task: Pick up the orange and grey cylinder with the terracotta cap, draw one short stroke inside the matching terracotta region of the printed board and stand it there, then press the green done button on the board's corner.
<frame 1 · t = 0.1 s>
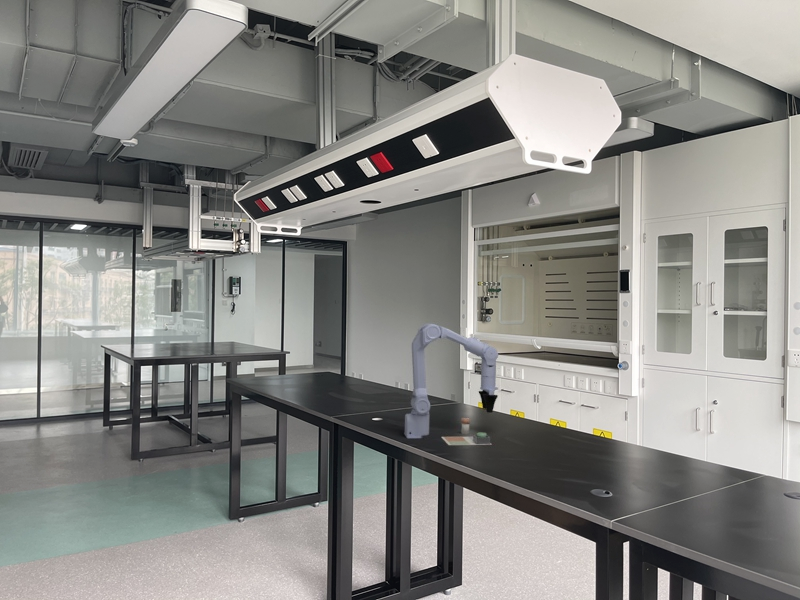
hand: (487, 410, 228), 10 cm above the table, fingers open, 7 cm apart
orange and grey cylinder: (465, 436, 225), on the table
board: (465, 443, 213), on the table
done button: (481, 435, 210), point 4 cm above the table, slide at 0.0 cm
button housing: (481, 442, 210), resting on board
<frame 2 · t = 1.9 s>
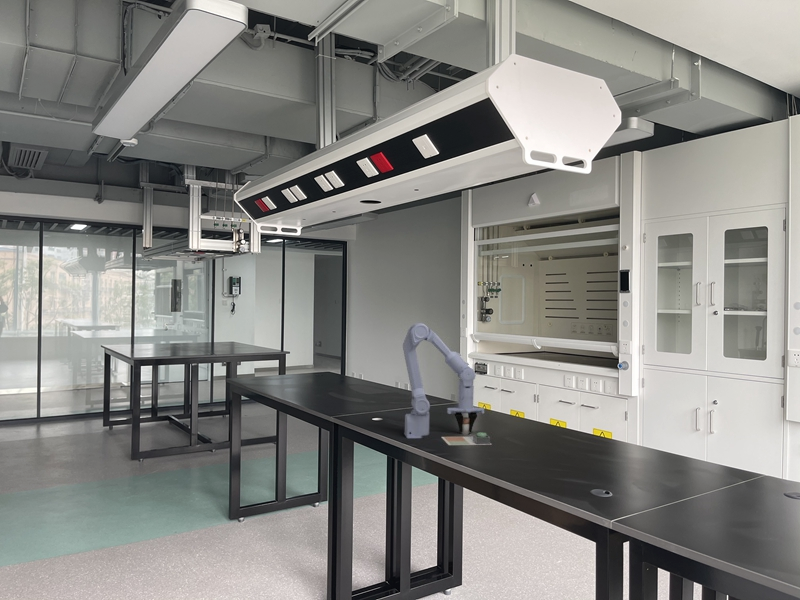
hand: (465, 431, 225), 2 cm above the table, fingers closed on orange and grey cylinder, 3 cm apart
orange and grey cylinder: (465, 436, 225), on the table, touching gripper
everything else where it was.
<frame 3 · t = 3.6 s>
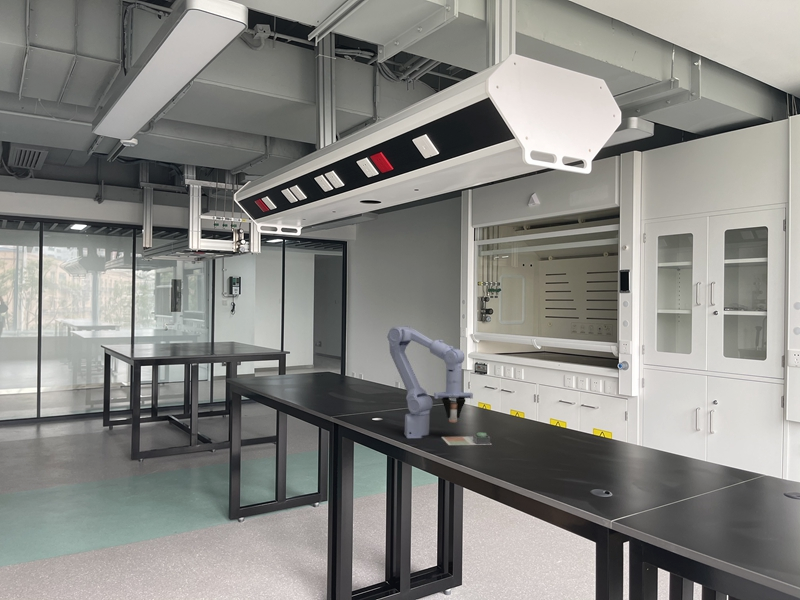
hand: (453, 417, 216), 9 cm above the table, fingers closed on orange and grey cylinder, 3 cm apart
orange and grey cylinder: (453, 421, 216), point 7 cm above the table, touching gripper
everything else where it was.
when the fingers open (3 cm above the table, at t = 5.5 s): orange and grey cylinder stays where it is, resting on board.
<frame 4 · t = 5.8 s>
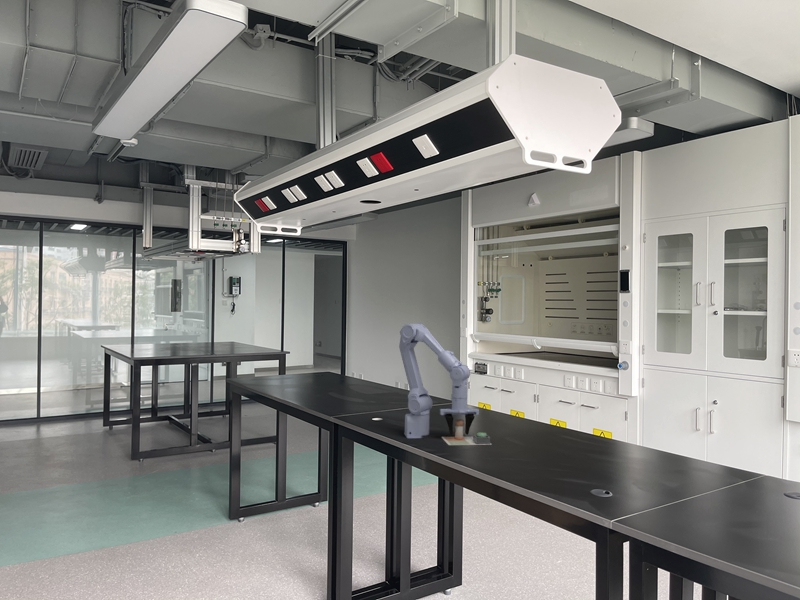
hand: (458, 434, 215), 3 cm above the table, fingers open, 5 cm apart
orange and grey cylinder: (458, 438, 215), point 1 cm above the table, touching board
everything else where it was.
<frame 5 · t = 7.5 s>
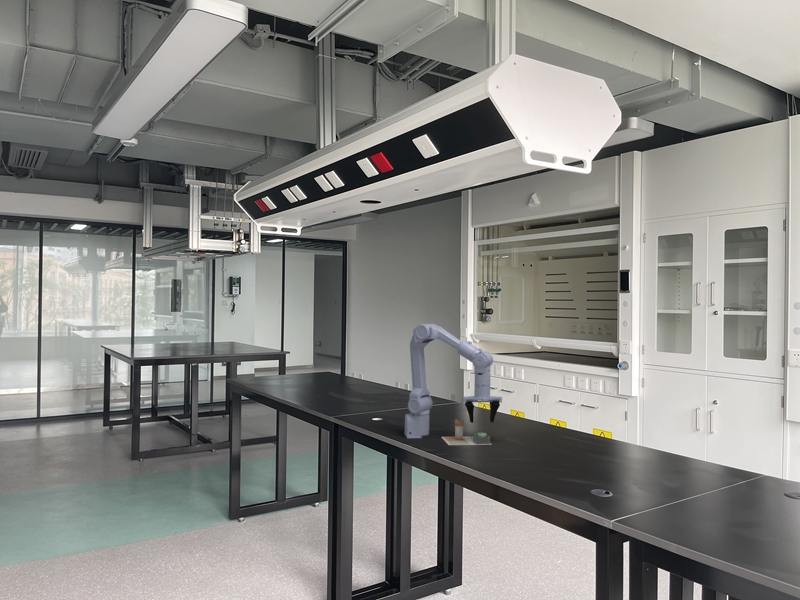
hand: (481, 422, 210), 8 cm above the table, fingers open, 7 cm apart
nothing on the table moved.
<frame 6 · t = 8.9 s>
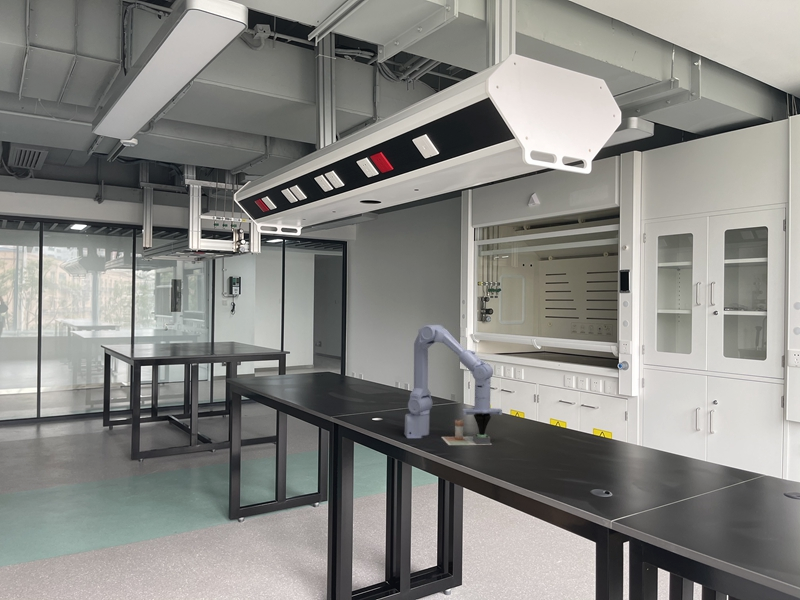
hand: (481, 434, 210), 4 cm above the table, fingers closed, pressing on done button
done button: (481, 436, 210), point 3 cm above the table, slide at 0.4 cm, touching gripper
everything else where it was.
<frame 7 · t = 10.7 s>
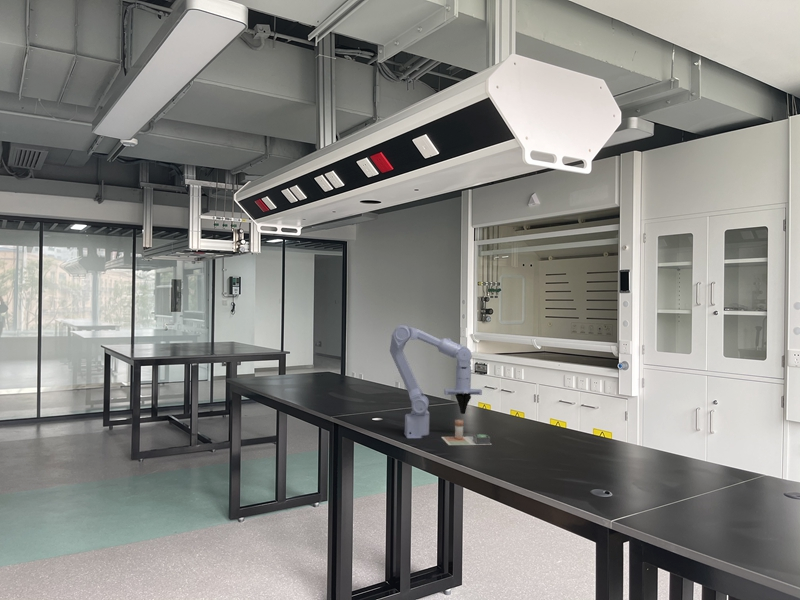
hand: (462, 413, 222), 9 cm above the table, fingers closed
done button: (481, 437, 210), point 3 cm above the table, slide at 0.7 cm
everything else where it was.
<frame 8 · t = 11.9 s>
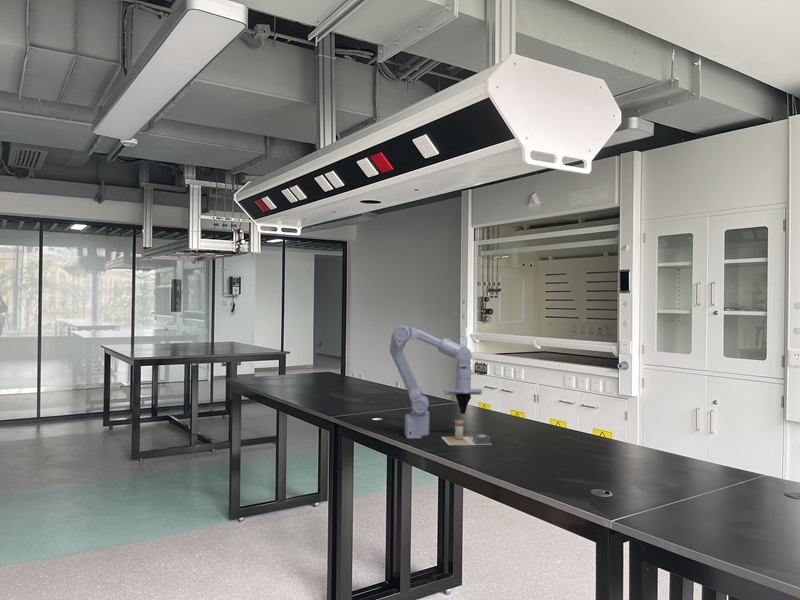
hand: (462, 413, 222), 9 cm above the table, fingers closed
nothing on the table moved.
at the end: orange and grey cylinder 1.5 cm from the target spot on the board, point 1.1 cm above the board's base; orange and grey cylinder tilted 0°; done button slide at 0.7 cm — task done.
